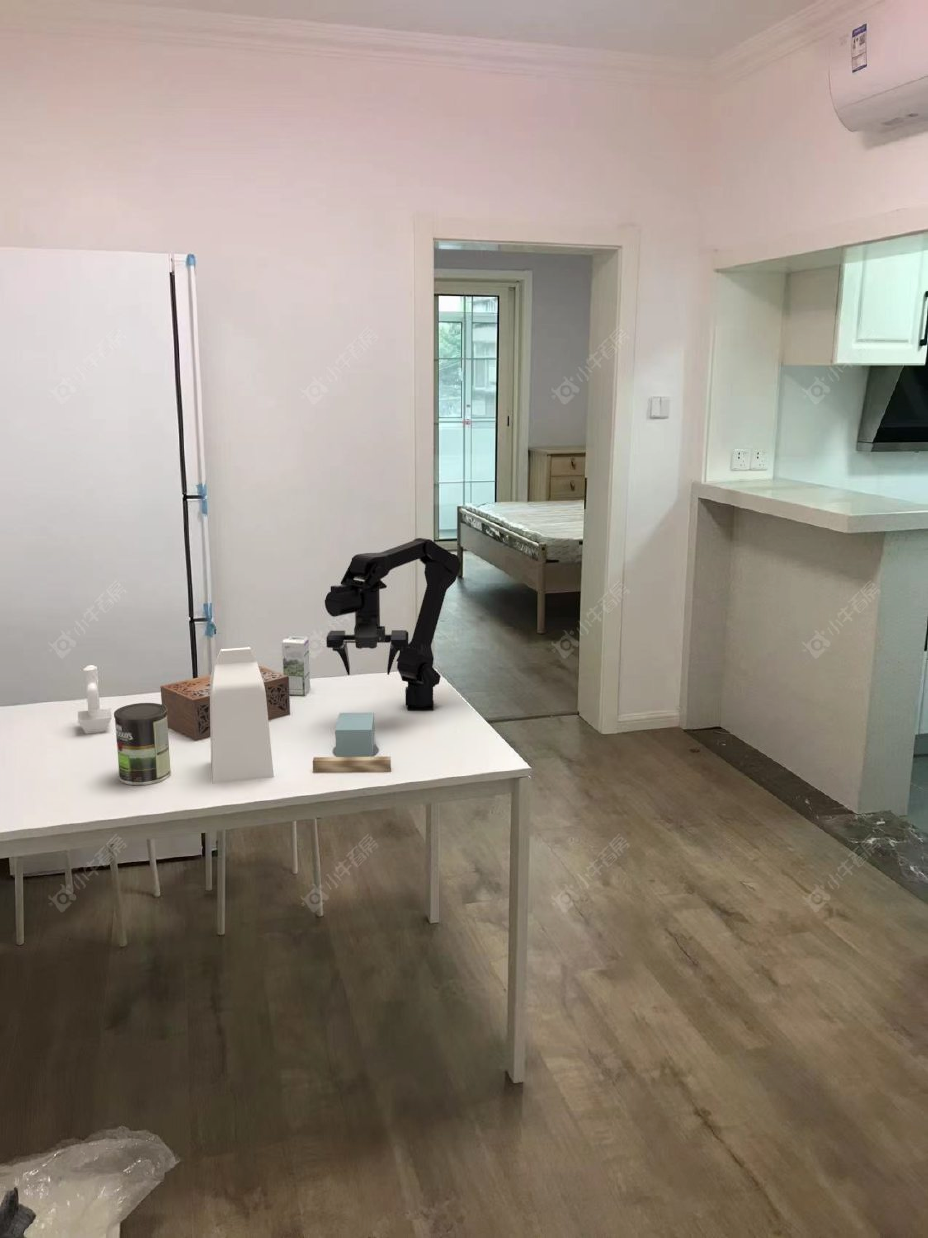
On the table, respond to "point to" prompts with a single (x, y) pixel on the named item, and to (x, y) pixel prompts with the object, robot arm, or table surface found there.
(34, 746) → the table surface
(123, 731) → the coffee can
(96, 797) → the table surface
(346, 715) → the light blue rectangular box
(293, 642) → the syrup box
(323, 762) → the tan wooden bar
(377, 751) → the gray round object
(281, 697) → the tissue box cover
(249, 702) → the milk
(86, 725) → the figurine
